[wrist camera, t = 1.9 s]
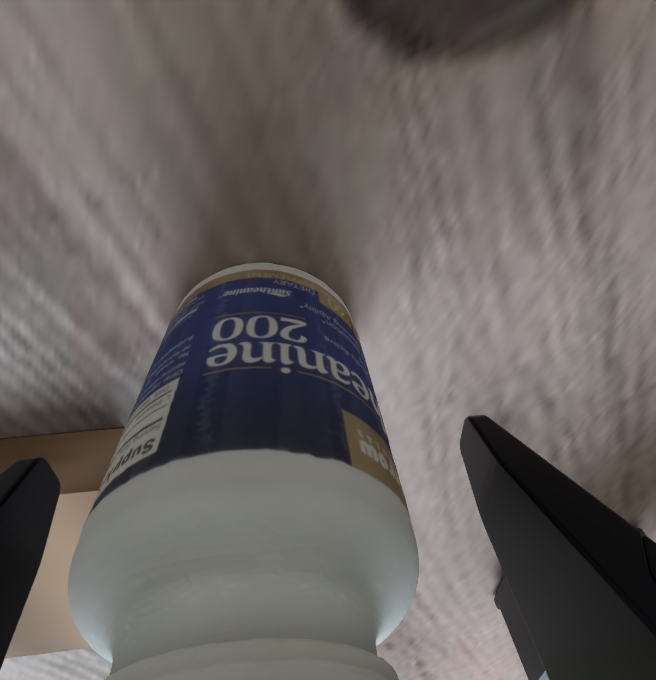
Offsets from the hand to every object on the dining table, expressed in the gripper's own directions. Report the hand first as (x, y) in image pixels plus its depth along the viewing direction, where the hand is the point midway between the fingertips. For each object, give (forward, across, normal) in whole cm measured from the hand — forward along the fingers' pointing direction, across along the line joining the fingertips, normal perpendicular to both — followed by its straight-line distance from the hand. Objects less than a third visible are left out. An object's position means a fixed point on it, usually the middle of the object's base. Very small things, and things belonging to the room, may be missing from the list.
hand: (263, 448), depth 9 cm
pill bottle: (+4, 0, 0) cm, 4 cm away
